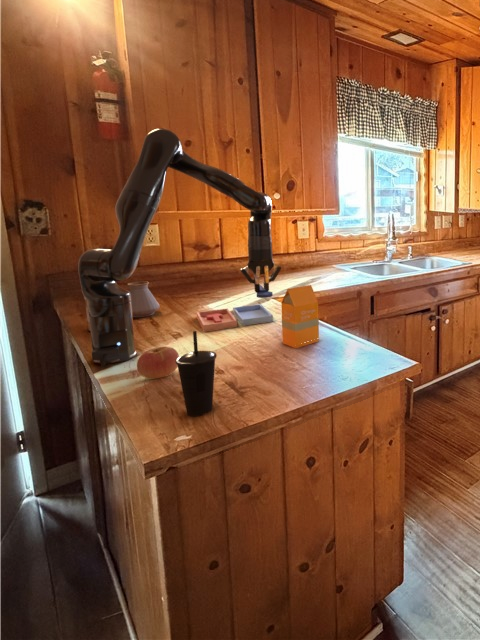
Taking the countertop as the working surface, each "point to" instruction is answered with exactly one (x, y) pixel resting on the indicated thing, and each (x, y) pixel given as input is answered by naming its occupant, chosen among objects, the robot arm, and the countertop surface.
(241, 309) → the blue tray
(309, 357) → the countertop surface
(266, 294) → the blue spoon
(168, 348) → the apple
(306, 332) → the orange juice
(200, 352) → the drinking cup
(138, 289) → the coffee pot
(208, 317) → the red spoon
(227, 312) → the red tray
